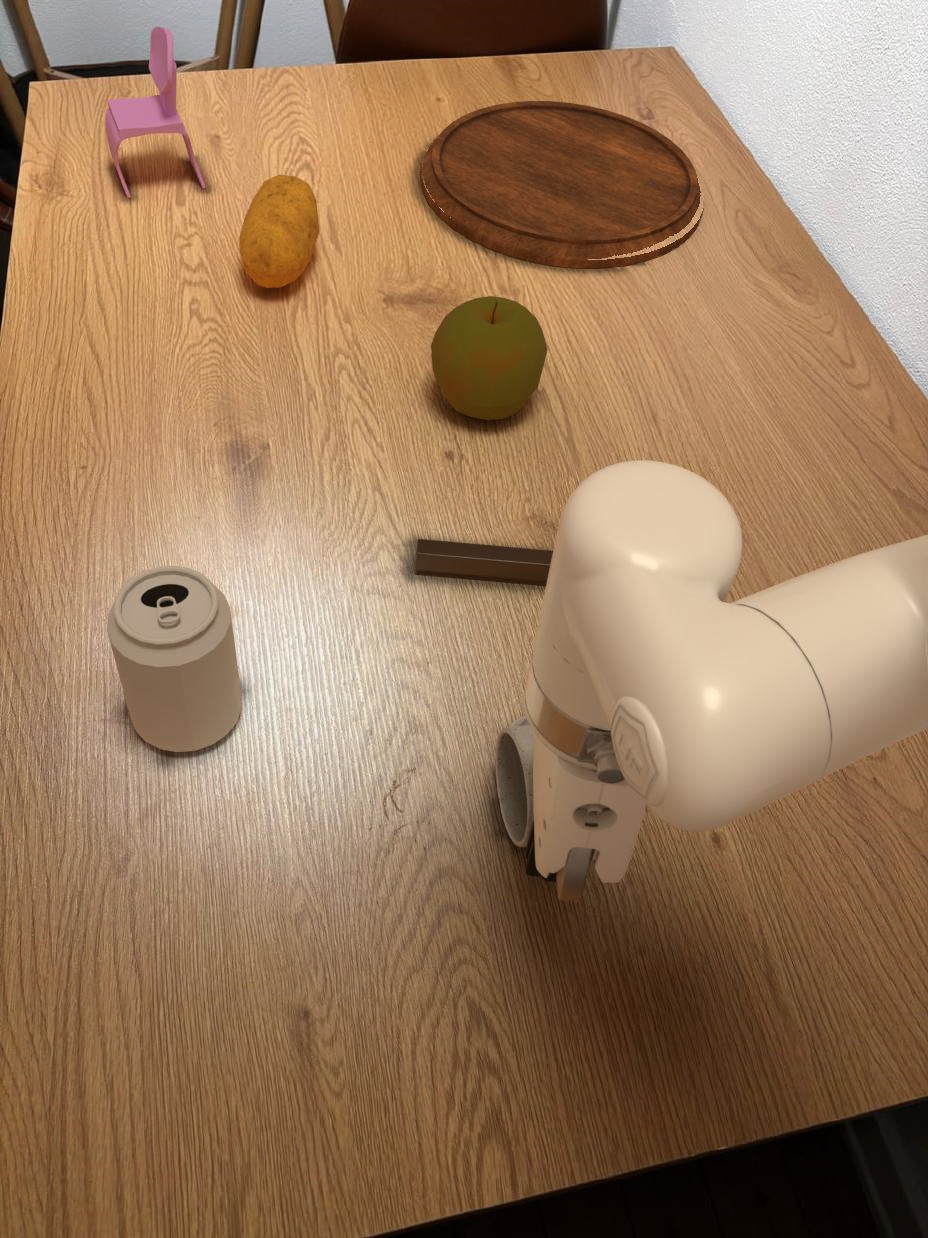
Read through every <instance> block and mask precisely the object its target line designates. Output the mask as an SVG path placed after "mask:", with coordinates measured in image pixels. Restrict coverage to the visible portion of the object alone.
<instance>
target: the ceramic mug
mask: <svg viewBox="0 0 928 1238" xmlns="http://www.w3.org/2000/svg"><path fill="white" fill-rule="evenodd" d="M533 751H534V732H533V731H532V729H531V727H530V725H529V723H528V721H527V718H526V715H522V716H521V717H518V718H516V719H515V720H513V721H512V723H510V726H506V727H504V728H503V729H501V730H500V733H499V735H498V737H497V741H496V748H495V778H496V779H495V780H496V793H497V797H498V801H499V806H500V807H499V808H500V812H501V816H502V820H503V823H504V828H505V830H506V832H507V835H508V836H509V838H510V840H511V841H512V842H513V844H514V845H515V846H516V847H519V848H526V846H527V842H528V838H529V834H530V831H531V827H532V823H533V820H534V811H533Z"/></svg>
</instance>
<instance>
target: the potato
mask: <svg viewBox="0 0 928 1238" xmlns="http://www.w3.org/2000/svg"><path fill="white" fill-rule="evenodd" d="M317 203H318V202H317V198H316V196H315V193H314V191H313V189H312V188H311V185H310V184H309V183H308V182H307V181H305V180H303V179H301V178H300V177H298V176H294V175H285V174H277V175H275V176H273V177H270V178H269V179H266V180H264V181H263V183H262V184H261V185H260V188H259V189H258V190H257V192H256V193H255V195H254V196H253V198H252V200H251V203H250V205H249V207H248V209H247V212H246V214H245V217H244V220H243V223H242V225H241V226H242V227H241V229H240V232H239V233H240V234H239V236H238V237H239V238H238V241H239V243H238V247H239V255H240V259H241V263H242V266H243V270H244V272H245V273H246V274H247V275H248V276H249V277H250V278H251V279H252V280H253V282H254V283H255V284H256V285H257V286H259V287H262V288H265V289H280V288H282V287H285V286H286V285H289V284H290V283H293V282H295V281H296V280H297V279H298V278H299V277H300V276H301V275H303V273H304V271H305V269H306V267H307V265H308V263H309V262H310V261H311V258H313V257H312V256H313V253H314V251H315V248H316V244H317V242H318V237H319V234H320V221H319V212H318V205H317Z"/></svg>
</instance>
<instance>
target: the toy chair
mask: <svg viewBox="0 0 928 1238" xmlns="http://www.w3.org/2000/svg"><path fill="white" fill-rule="evenodd" d="M149 48H150V49H149V60H148V61H149V62H148V70H149V72H150V75H151V78H152V80H153V82H154V84H155V86H156V88H157V90H158V92H159V94H155V95H150V96H142V97H131V98H130V97H129V98H126V97H125V98H124V97H123V98H122V97H121V98H112V99H107V104H108V108H107V110H106V112H105V133H106V138H107V145H108V148H109V152H110V155H111V157H112V161H113V163H114V166H115V169H116V171H117V174H118V176H119V179H120V182H121V185H122V188H123V190H124V193H125V195H126V197H127V199H131V198H132V196H131V194H130V190H129V189H128V185H127V183H126V180H125V177H124V175H123V171H122V169H121V167H120V163H119V151H120V145H121V144H122V142H124V141H125V140H127V139H131V138H137V137H142V136H146V135H153V134H180V135H181V136H182V139H183V142H184V145H185V148H186V152H187V155H188V158H189V161H190V165H192V167H193V170H194V173H195V175H196V177H197V180H198V181H199V184H200V186H201V188H202V189H207V188H206V184H205V182H204V178H203V177H202V174H201V171H200V169H199V165H198V163H197V159H196V157H195V154H194V149H193V146H192V142H191V138H190V136H189V134H188V131H187V129H186V127H185V124H184V123H183V121H182V118H181V116H180V113H179V111H178V110H177V67H178V66H177V63H176V61H175V59H174V35H173V32H172V31H171V30H170V29H169V28H167V27H164V26H155V27H153V28H152V30H151V32H150V47H149Z"/></svg>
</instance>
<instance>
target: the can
mask: <svg viewBox="0 0 928 1238" xmlns="http://www.w3.org/2000/svg"><path fill="white" fill-rule="evenodd" d="M233 626H234V625H233V618H232V612H231V606H230V604H229V601H228V599H227V597H226V596H225V593H223V592H222V591H221V590H220V589H219V588H218V587H217V586H216V585H215V584H214V583H213V582H212V581H211V580H210V579H209V578H207V576H205V574H204V573H201V572H199V571H197V570H195V569H193V568H190V567H185V566H179V565H164V566H163V565H162V566H156V567H152V568H149V569H146V570H143V571H142V572H140V573H138V574H136V575H134V576H133V577H131V578H129V579H128V580H127V581H126V583H124V585H122V587H121V588H119V591H117V595H116V597H115V599H114V601H113V604H112V606H111V608H110V610H109V612H108V614H107V622H106V632H107V635H108V639H109V643H110V647H111V650H112V655H113V658H114V661H115V662H114V663H115V664H116V665H115V666H116V669H117V674H118V677H119V680H120V684H121V688H122V692H123V695H124V699H125V703H126V707H127V710H128V714H129V718H130V721H131V723H132V726H133V728H134V731H135V732H136V734H138V735H139V737H140V738H141V739H142V740H143V741H144V742H145V743H147V744H149V745H151V746H153V747H155V748H157V749H159V750H162V751H163V750H164V751H168V752H174V753H184V752H195V751H199V750H201V749H205V748H207V747H210V746H213V745H214V744H216V743H217V742H218V741H220V740H222V739H223V738H225V737H227V735H228V734H229V733H230V731H232V729H233V728H234V726H235V725H236V724H237V723H238V720H239V717H240V715H241V712H242V709H243V705H242V704H243V703H242V702H243V701H242V689H241V682H240V674H239V666H238V659H237V650H236V649H237V648H236V644H235V643H236V642H235V634H234V627H233Z"/></svg>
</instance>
